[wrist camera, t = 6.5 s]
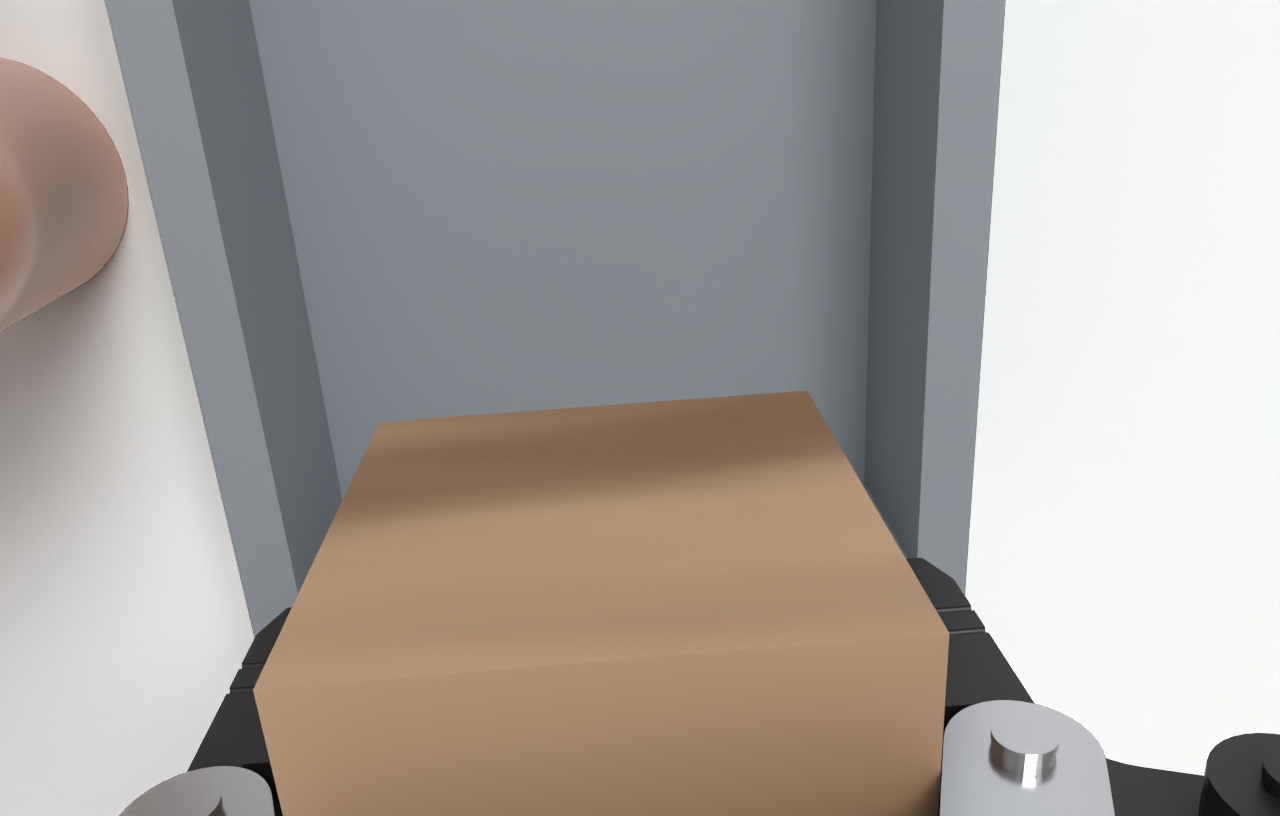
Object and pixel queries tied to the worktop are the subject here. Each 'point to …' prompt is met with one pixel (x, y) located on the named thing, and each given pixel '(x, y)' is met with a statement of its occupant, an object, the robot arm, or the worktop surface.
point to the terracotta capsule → (53, 192)
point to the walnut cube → (609, 625)
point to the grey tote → (568, 229)
